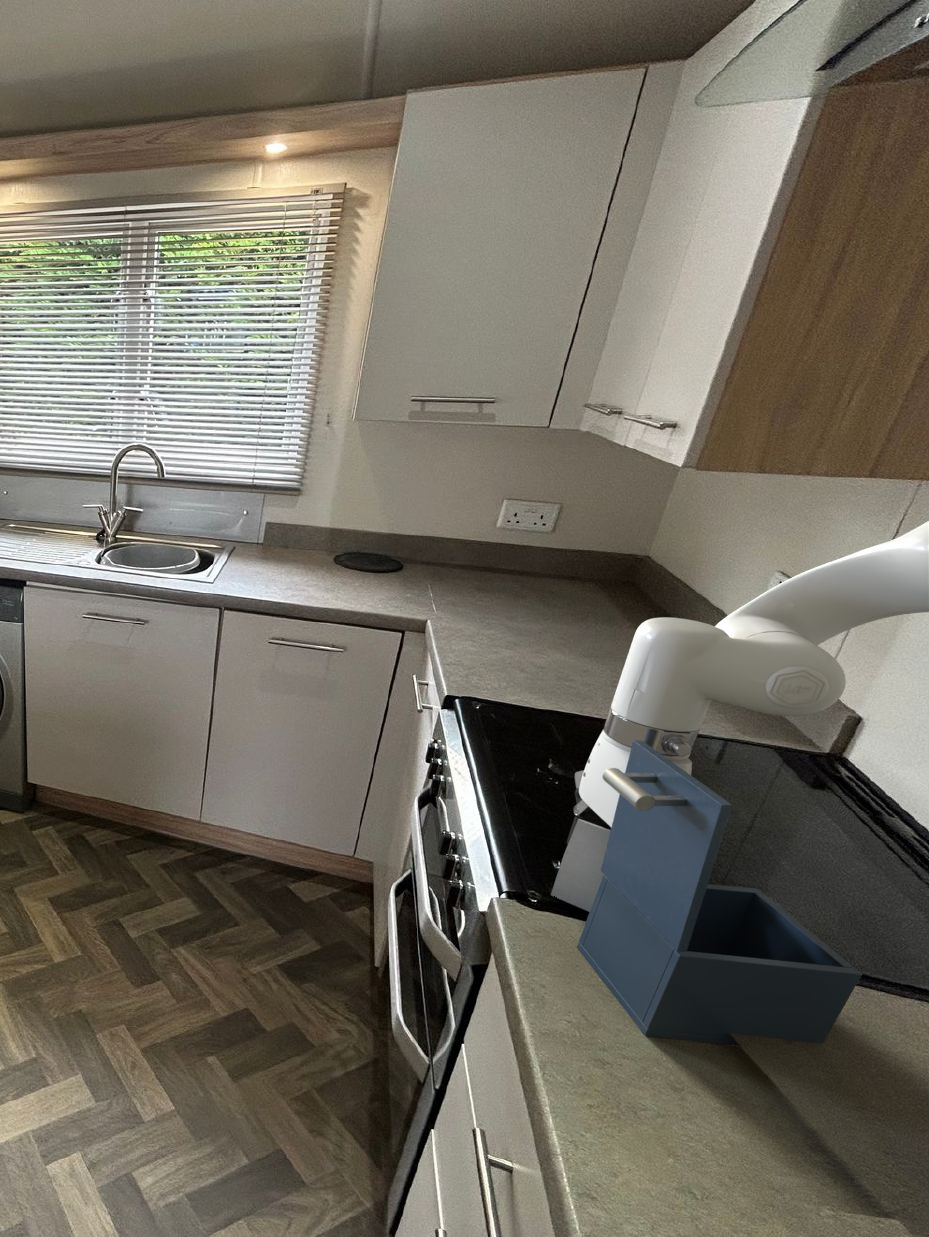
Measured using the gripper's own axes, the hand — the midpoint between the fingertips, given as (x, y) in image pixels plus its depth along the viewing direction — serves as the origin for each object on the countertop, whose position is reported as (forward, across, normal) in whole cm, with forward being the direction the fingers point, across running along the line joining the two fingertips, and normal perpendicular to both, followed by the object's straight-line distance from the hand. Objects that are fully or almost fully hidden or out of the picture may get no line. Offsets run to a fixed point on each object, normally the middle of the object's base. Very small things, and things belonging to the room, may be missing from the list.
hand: (601, 866), depth 84 cm
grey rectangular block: (+5, 0, 0) cm, 5 cm away
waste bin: (+5, -14, -2) cm, 15 cm away
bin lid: (-13, -14, +6) cm, 20 cm away
